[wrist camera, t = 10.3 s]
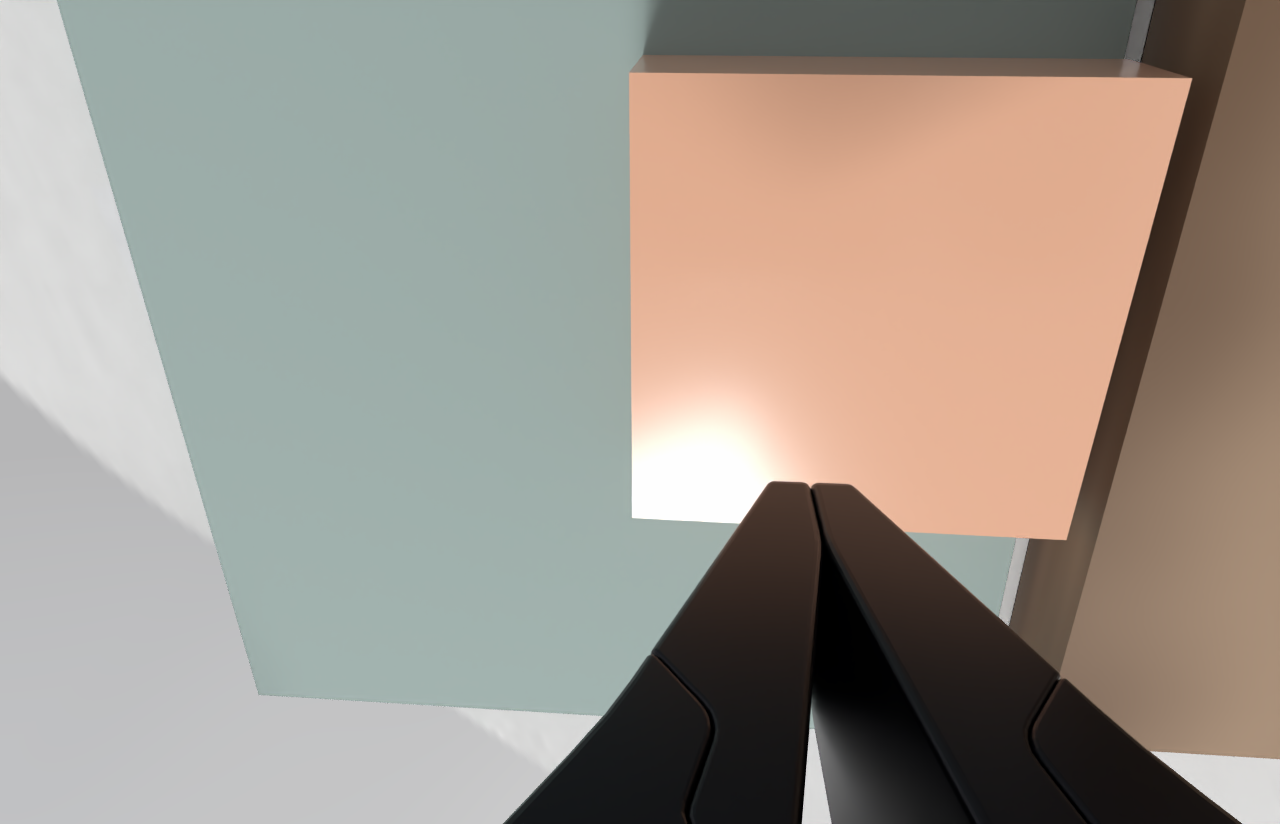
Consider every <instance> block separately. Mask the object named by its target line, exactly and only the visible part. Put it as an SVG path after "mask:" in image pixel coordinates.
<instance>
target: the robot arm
mask: <svg viewBox="0 0 1280 824" xmlns="http://www.w3.org/2000/svg"><path fill="white" fill-rule="evenodd" d="M1060 678H1061V676H1060V673H1059V672H1058V671H1057V670H1056V669H1055V668H1054V667H1053V666H1052V665H1051V664H1049V663H1048V662H1047V661H1046V660H1045V659H1044V658H1043V657H1042V656H1041V655H1039V654H1038V653H1037V652H1036V651H1035V650H1034V649H1033V648H1032V647H1031V646H1030V645H1028V644H1027V643H1026V642H1025V641H1024V640H1023V639H1022V638H1021V637H1020V636H1019V635H1017V634H1016V633H1015V632H1014V631H1013V630H1012V629H1011V628H1010V627H1009V626H1008V625H1006V624H1005V623H1004V622H1003V621H1002V620H1001V619H1000V618H999V617H998V616H996V615H995V614H994V613H993V612H992V611H991V610H990V609H989V608H988V607H987V606H985V605H984V604H983V603H982V602H981V601H980V600H979V599H978V598H977V597H976V596H974V595H973V594H972V593H971V592H970V591H969V590H968V589H967V588H966V587H964V586H963V585H962V584H961V583H960V582H959V581H958V580H957V579H956V578H955V577H953V576H952V575H951V574H950V573H949V572H948V571H947V570H946V569H945V568H944V567H942V566H941V565H940V564H939V563H938V562H937V561H936V560H935V559H934V558H933V557H931V556H930V555H929V554H928V553H927V552H926V551H925V550H924V549H923V548H921V547H920V546H919V545H918V544H917V543H916V542H915V541H914V540H913V539H912V538H910V537H909V536H908V535H907V534H906V533H905V532H904V531H903V530H902V529H901V528H899V527H898V526H897V525H896V524H895V523H894V522H893V521H892V520H891V519H890V518H888V517H887V516H886V515H885V514H884V513H883V512H882V511H881V510H880V509H878V508H877V507H876V506H875V505H874V504H873V503H872V502H871V501H870V500H869V499H867V498H866V497H865V496H864V495H863V494H862V493H861V492H860V491H859V490H858V489H856V488H855V487H854V486H852V485H850V484H841V483H815V484H813V485H812V486H811V488H810V487H809V485H808V484H807V483H804V482H790V481H771V482H769V483H768V484H767V485H766V487H765V488H764V490H763V491H762V492H761V494H760V495H759V497H758V498H757V500H756V501H755V503H754V504H753V505H752V507H751V508H750V510H749V511H748V513H747V514H746V515H745V517H744V518H743V520H742V521H741V523H740V524H739V526H738V527H737V528H736V530H735V531H734V533H733V534H732V536H731V537H730V538H729V540H728V541H727V543H726V544H725V546H724V547H723V549H722V550H721V551H720V553H719V554H718V556H717V557H716V559H715V560H714V561H713V563H712V564H711V566H710V567H709V569H708V570H707V572H706V573H705V574H704V576H703V577H702V579H701V580H700V582H699V583H698V584H697V586H696V587H695V589H694V590H693V592H692V593H691V595H690V596H689V597H688V599H687V600H686V602H685V603H684V605H683V606H682V607H681V609H680V610H679V612H678V613H677V615H676V616H675V618H674V619H673V620H672V622H671V623H670V625H669V626H668V628H667V629H666V630H665V632H664V633H663V635H662V636H661V638H660V639H659V641H658V642H657V643H656V645H655V646H654V648H653V649H652V651H651V655H648V656H647V657H646V659H645V660H644V661H643V663H642V664H641V666H640V667H639V669H638V670H637V672H636V673H635V674H634V676H633V677H632V679H631V680H630V682H629V683H628V684H627V685H626V687H625V688H624V689H623V691H622V692H621V693H620V695H619V696H618V697H617V699H616V700H615V701H614V703H613V704H612V705H611V706H610V708H609V709H608V710H607V712H606V713H605V714H604V716H603V717H602V718H601V719H600V720H599V721H598V722H597V724H596V725H595V726H594V727H593V728H592V729H591V730H590V731H589V732H588V734H587V735H586V736H585V737H584V738H583V739H582V740H581V741H580V743H579V744H578V745H577V746H576V747H575V748H574V749H573V750H572V751H571V753H570V754H569V755H568V756H567V757H566V758H565V759H564V760H563V761H562V762H561V763H560V764H559V765H558V766H557V767H556V768H555V770H554V771H553V772H552V773H551V774H550V775H549V776H548V777H547V778H546V779H545V780H544V781H543V782H542V783H541V784H540V785H539V786H538V788H536V790H535V791H534V792H533V793H532V794H531V795H530V796H529V797H528V798H527V799H526V800H525V801H524V802H523V803H522V804H521V806H519V808H517V810H516V811H515V812H514V813H513V814H512V815H511V816H510V817H509V818H508V819H507V820H506V821H505V822H504V823H503V824H802V813H803V801H804V788H805V776H806V764H807V751H808V739H809V726H810V714H811V708H812V715H813V722H814V727H815V733H816V739H817V744H818V750H819V755H820V761H821V766H822V772H823V778H824V783H825V789H826V794H827V800H828V805H829V811H830V817H831V822H832V824H1242V823H1241V822H1239V821H1238V820H1237V819H1235V818H1234V817H1233V816H1232V815H1230V814H1229V813H1228V812H1226V811H1225V810H1224V809H1222V808H1221V807H1220V806H1218V805H1217V804H1216V803H1215V802H1213V801H1212V800H1211V799H1209V798H1208V797H1207V796H1205V795H1204V794H1203V793H1202V792H1200V791H1199V790H1198V789H1197V788H1195V787H1194V786H1193V785H1192V784H1190V783H1189V782H1188V781H1186V780H1185V779H1184V778H1183V777H1181V776H1180V775H1179V774H1178V773H1176V772H1175V771H1174V770H1173V769H1171V768H1170V767H1169V766H1168V765H1166V764H1165V763H1164V762H1162V761H1161V760H1160V759H1159V758H1157V757H1156V756H1155V755H1154V754H1152V753H1151V752H1150V751H1149V750H1147V749H1146V748H1145V747H1144V746H1143V745H1141V744H1140V743H1139V742H1138V741H1137V740H1136V739H1134V738H1133V737H1132V736H1131V735H1130V734H1129V733H1127V732H1126V731H1125V730H1124V729H1123V728H1122V727H1121V726H1119V725H1118V724H1117V723H1116V722H1115V721H1114V720H1112V719H1111V718H1110V717H1109V716H1108V715H1107V714H1105V713H1104V712H1103V711H1102V710H1101V709H1100V708H1099V707H1097V706H1096V705H1095V704H1094V703H1093V702H1092V701H1091V700H1090V699H1088V698H1087V697H1086V696H1085V695H1084V694H1083V693H1082V692H1081V691H1080V690H1079V689H1077V688H1076V687H1075V686H1074V685H1073V684H1072V683H1071V682H1070V681H1069V680H1067V679H1065V678H1062V679H1060Z"/></svg>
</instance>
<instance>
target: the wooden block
mask: <svg viewBox="0 0 1280 824" xmlns="http://www.w3.org/2000/svg"><path fill="white" fill-rule="evenodd" d="M1141 63H1144V64H1147V65H1150V66H1154V67H1157V68H1160V69H1163V70H1167V71H1170V72H1173V73H1177V74H1180V75H1183V76H1187V77H1190V78H1192V81H1191V85H1190V89H1189V92H1188V96H1187V100H1186V103H1185V107H1184V111H1183V114H1182V118H1181V122H1180V125H1179V129H1178V133H1177V136H1176V140H1175V144H1174V147H1173V151H1172V155H1171V158H1170V162H1169V166H1168V169H1167V173H1166V177H1165V180H1164V184H1163V188H1162V191H1161V195H1160V199H1159V202H1158V206H1157V210H1156V213H1155V217H1154V221H1153V224H1152V228H1151V232H1150V235H1149V239H1148V243H1147V246H1146V250H1145V254H1144V257H1143V261H1142V265H1141V268H1140V272H1139V276H1138V279H1137V283H1136V287H1135V290H1134V294H1133V298H1132V301H1131V305H1130V309H1129V312H1128V316H1127V320H1126V323H1125V327H1124V331H1123V334H1122V338H1121V342H1120V345H1119V349H1118V353H1117V356H1116V360H1115V364H1114V367H1113V371H1112V375H1111V378H1110V382H1109V386H1108V389H1107V393H1106V397H1105V400H1104V404H1103V408H1102V411H1101V415H1100V419H1099V422H1098V426H1097V430H1096V433H1095V437H1094V441H1093V444H1092V448H1091V452H1090V455H1089V459H1088V463H1087V466H1086V470H1085V474H1084V477H1083V481H1082V485H1081V488H1080V492H1079V496H1078V499H1077V503H1076V507H1075V510H1074V514H1073V518H1072V521H1071V525H1070V529H1069V532H1068V536H1067V540H1053V539H1033V538H1030V541H1029V545H1028V549H1027V553H1026V558H1025V562H1024V566H1023V570H1022V575H1021V579H1020V583H1019V588H1018V592H1017V596H1016V600H1015V605H1014V609H1013V613H1012V618H1011V622H1010V626H1009V627H1010V628H1011V629H1012V630H1013V631H1014V632H1015V633H1016V634H1017V635H1019V636H1020V637H1021V638H1022V639H1023V640H1024V641H1025V642H1026V643H1027V644H1028V645H1030V646H1031V647H1032V648H1033V649H1034V650H1035V651H1036V652H1037V653H1038V654H1039V655H1041V656H1042V657H1043V658H1044V659H1045V660H1046V661H1047V662H1048V663H1049V664H1051V665H1052V666H1053V667H1054V668H1055V669H1056V670H1057V671H1058V672H1059V673H1060V676H1061V678H1060V679H1062V678H1065V679H1067V680H1069V681H1070V682H1071V683H1072V684H1073V685H1074V686H1075V687H1076V688H1077V689H1079V690H1080V691H1081V692H1082V693H1083V694H1084V695H1085V696H1086V697H1087V698H1088V699H1090V700H1091V701H1092V702H1093V703H1094V704H1095V705H1096V706H1097V707H1099V708H1100V709H1101V710H1102V711H1103V712H1104V713H1105V714H1107V715H1108V716H1109V717H1110V718H1111V719H1112V720H1114V721H1115V722H1116V723H1117V724H1118V725H1119V726H1121V727H1122V728H1123V729H1124V730H1125V731H1126V732H1127V733H1129V734H1130V735H1131V736H1132V737H1133V738H1134V739H1136V740H1137V741H1138V742H1139V743H1140V744H1141V745H1143V746H1144V747H1145V748H1146V749H1147V750H1149V751H1157V752H1174V753H1190V754H1206V755H1222V756H1239V757H1255V758H1271V759H1280V0H1156V2H1155V6H1154V11H1153V15H1152V19H1151V23H1150V28H1149V32H1148V36H1147V41H1146V45H1145V49H1144V53H1143V58H1142V62H1141Z"/></svg>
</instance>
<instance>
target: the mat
mask: <svg viewBox="0 0 1280 824" xmlns="http://www.w3.org/2000/svg"><path fill="white" fill-rule="evenodd" d="M57 2H58V6H59V9H60V13H61V16H62V20H63V23H64V27H65V30H66V33H67V37H68V40H69V44H70V47H71V51H72V54H73V58H74V61H75V64H76V68H77V71H78V75H79V78H80V82H81V85H82V88H83V92H84V95H85V99H86V102H87V106H88V109H89V113H90V116H91V119H92V123H93V126H94V130H95V133H96V137H97V140H98V143H99V147H100V150H101V154H102V157H103V161H104V164H105V168H106V171H107V174H108V178H109V181H110V185H111V188H112V192H113V195H114V199H115V202H116V205H117V209H118V212H119V216H120V219H121V223H122V226H123V229H124V233H125V236H126V240H127V243H128V247H129V250H130V254H131V257H132V260H133V264H134V267H135V271H136V274H137V278H138V281H139V285H140V288H141V291H142V295H143V298H144V302H145V305H146V309H147V312H148V315H149V319H150V322H151V326H152V329H153V333H154V336H155V340H156V343H157V346H158V350H159V353H160V357H161V360H162V364H163V367H164V370H165V374H166V377H167V381H168V384H169V388H170V391H171V395H172V398H173V401H174V405H175V408H176V412H177V415H178V419H179V422H180V426H181V429H182V432H183V436H184V439H185V443H186V446H187V450H188V453H189V456H190V460H191V463H192V467H193V470H194V474H195V477H196V481H197V484H198V487H199V491H200V494H201V498H202V501H203V505H204V508H205V511H206V515H207V518H208V522H209V525H210V529H211V532H212V536H213V539H214V542H215V546H216V549H217V553H218V556H219V559H220V563H221V566H222V570H223V573H224V577H225V580H226V584H227V587H228V591H229V594H230V597H231V601H232V604H233V608H234V611H235V614H236V618H237V622H238V625H239V628H240V632H241V635H242V639H243V642H244V645H245V649H246V652H247V656H248V659H249V663H250V666H251V669H252V673H253V676H254V680H255V683H256V687H257V690H258V694H259V695H270V696H286V697H288V696H289V697H302V698H319V699H336V700H351V701H368V702H384V703H400V704H417V705H433V706H449V707H465V708H482V709H498V710H514V711H531V712H547V713H563V714H579V715H596V716H604V714H605V713H606V712H607V710H608V709H609V708H610V706H611V705H612V704H613V703H614V701H615V700H616V699H617V697H618V696H619V695H620V693H621V692H622V691H623V689H624V688H625V687H626V685H627V684H628V683H629V682H630V680H631V679H632V677H633V676H634V674H635V673H636V672H637V670H638V669H639V667H640V666H641V664H642V663H643V661H644V660H645V659H646V657H647V656H648V655H651V651H652V649H653V648H654V646H655V645H656V643H657V642H658V641H659V639H660V638H661V636H662V635H663V633H664V632H665V630H666V629H667V628H668V626H669V625H670V623H671V622H672V620H673V619H674V618H675V616H676V615H677V613H678V612H679V610H680V609H681V607H682V606H683V605H684V603H685V602H686V600H687V599H688V597H689V596H690V595H691V593H692V592H693V590H694V589H695V587H696V586H697V584H698V583H699V582H700V580H701V579H702V577H703V576H704V574H705V573H706V572H707V570H708V569H709V567H710V566H711V564H712V563H713V561H714V560H715V559H716V557H717V556H718V554H719V553H720V551H721V550H722V549H723V547H724V546H725V544H726V543H727V541H728V540H729V538H730V537H731V536H732V534H733V533H734V531H735V530H736V528H737V527H738V526H739V524H740V523H722V522H702V521H683V520H663V519H644V518H632V411H631V272H630V134H629V72H630V71H631V69H632V68H633V67H634V66H635V64H636V63H637V62H638V60H639V59H640V58H641V57H642V55H712V56H829V57H946V58H1063V59H1124V56H1125V52H1126V47H1127V43H1128V38H1129V34H1130V29H1131V25H1132V20H1133V16H1134V12H1135V7H1136V3H1137V0H57ZM905 533H906V534H907V535H908V536H909V537H910V538H912V539H913V540H914V541H915V542H916V543H917V544H918V545H919V546H920V547H921V548H923V549H924V550H925V551H926V552H927V553H928V554H929V555H930V556H931V557H933V558H934V559H935V560H936V561H937V562H938V563H939V564H940V565H941V566H942V567H944V568H945V569H946V570H947V571H948V572H949V573H950V574H951V575H952V576H953V577H955V578H956V579H957V580H958V581H959V582H960V583H961V584H962V585H963V586H964V587H966V588H967V589H968V590H969V591H970V592H971V593H972V594H973V595H974V596H976V597H977V598H978V599H979V600H980V601H981V602H982V603H983V604H984V605H985V606H987V607H988V608H989V609H990V610H991V611H992V612H993V613H994V614H995V615H996V616H999V612H1000V607H1001V603H1002V598H1003V594H1004V589H1005V585H1006V581H1007V576H1008V572H1009V567H1010V563H1011V558H1012V554H1013V549H1014V545H1015V541H1016V538H1014V537H994V536H975V535H955V534H936V533H916V532H905ZM809 729H815V727H814V722H813V715H812V708H811V714H810V726H809Z"/></svg>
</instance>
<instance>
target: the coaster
mask: <svg viewBox="0 0 1280 824" xmlns="http://www.w3.org/2000/svg"><path fill="white" fill-rule="evenodd" d="M1191 81H1192V78H1190V77H1187V76H1183V75H1180V74H1177V73H1173V72H1170V71H1167V70H1163V69H1160V68H1157V67H1154V66H1150V65H1147V64H1144V63H1140V62H1137V61H1134V60H1131V59H1063V58H946V57H829V56H712V55H642V57H641V58H640V59H639V60H638V62H637V63H636V64H635V66H634V67H633V68H632V69H631V71H630V72H629V134H630V272H631V411H632V518H644V519H663V520H683V521H702V522H722V523H741V521H742V520H743V518H744V517H745V515H746V514H747V513H748V511H749V510H750V508H751V507H752V505H753V504H754V503H755V501H756V500H757V498H758V497H759V495H760V494H761V492H762V491H763V490H764V488H765V487H766V485H767V484H768V483H769V482H771V481H790V482H804V483H807V484H808V485H809V487H810V488H811V486H812V485H813V484H815V483H841V484H850V485H852V486H854V487H855V488H856V489H858V490H859V491H860V492H861V493H862V494H863V495H864V496H865V497H866V498H867V499H869V500H870V501H871V502H872V503H873V504H874V505H875V506H876V507H877V508H878V509H880V510H881V511H882V512H883V513H884V514H885V515H886V516H887V517H888V518H890V519H891V520H892V521H893V522H894V523H895V524H896V525H897V526H898V527H899V528H901V529H902V530H903V531H904V532H916V533H936V534H955V535H975V536H994V537H1014V538H1033V539H1053V540H1067V536H1068V532H1069V529H1070V525H1071V521H1072V518H1073V514H1074V510H1075V507H1076V503H1077V499H1078V496H1079V492H1080V488H1081V485H1082V481H1083V477H1084V474H1085V470H1086V466H1087V463H1088V459H1089V455H1090V452H1091V448H1092V444H1093V441H1094V437H1095V433H1096V430H1097V426H1098V422H1099V419H1100V415H1101V411H1102V408H1103V404H1104V400H1105V397H1106V393H1107V389H1108V386H1109V382H1110V378H1111V375H1112V371H1113V367H1114V364H1115V360H1116V356H1117V353H1118V349H1119V345H1120V342H1121V338H1122V334H1123V331H1124V327H1125V323H1126V320H1127V316H1128V312H1129V309H1130V305H1131V301H1132V298H1133V294H1134V290H1135V287H1136V283H1137V279H1138V276H1139V272H1140V268H1141V265H1142V261H1143V257H1144V254H1145V250H1146V246H1147V243H1148V239H1149V235H1150V232H1151V228H1152V224H1153V221H1154V217H1155V213H1156V210H1157V206H1158V202H1159V199H1160V195H1161V191H1162V188H1163V184H1164V180H1165V177H1166V173H1167V169H1168V166H1169V162H1170V158H1171V155H1172V151H1173V147H1174V144H1175V140H1176V136H1177V133H1178V129H1179V125H1180V122H1181V118H1182V114H1183V111H1184V107H1185V103H1186V100H1187V96H1188V92H1189V89H1190V85H1191Z"/></svg>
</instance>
